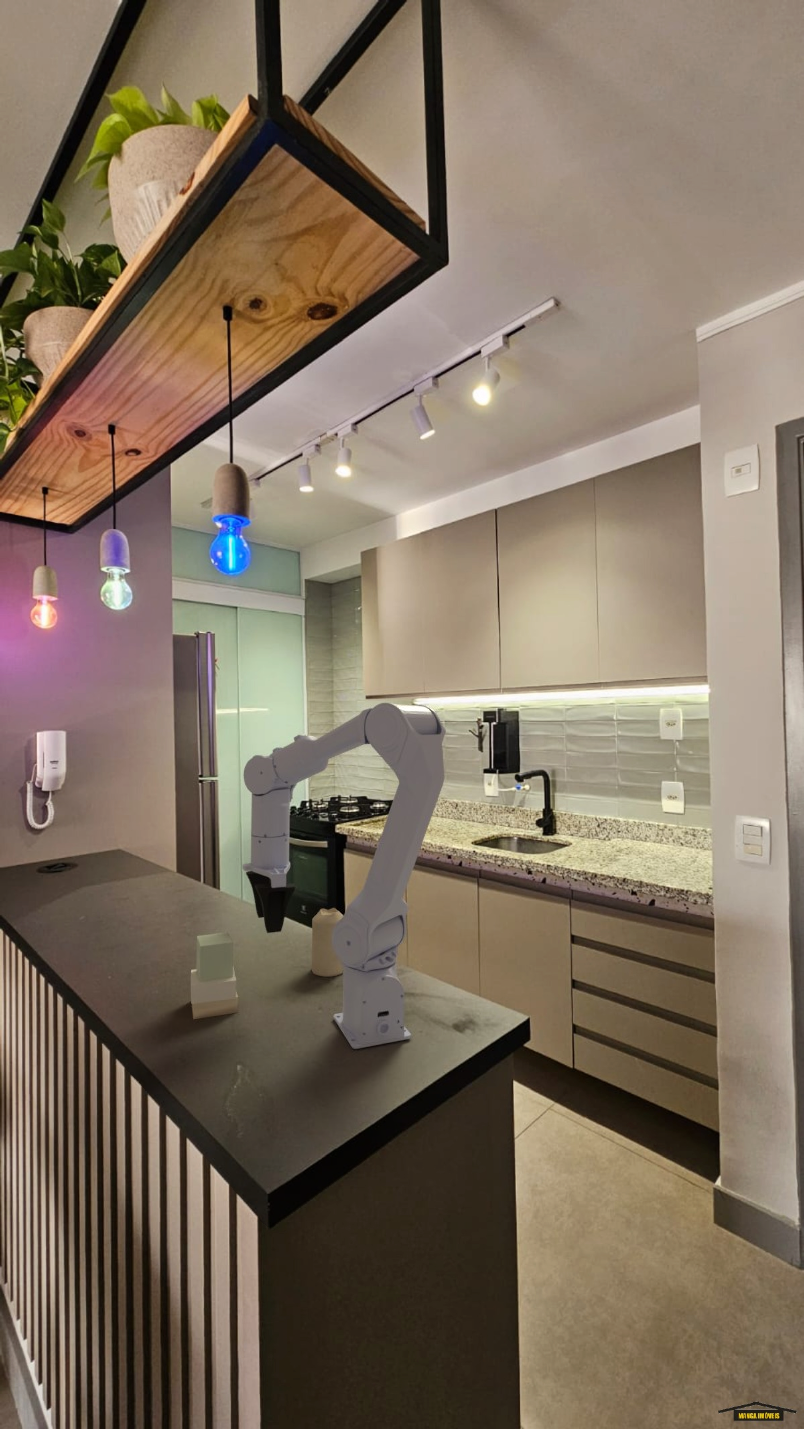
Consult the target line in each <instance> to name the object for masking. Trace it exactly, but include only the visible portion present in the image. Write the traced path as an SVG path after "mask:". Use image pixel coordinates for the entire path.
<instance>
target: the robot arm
mask: <svg viewBox="0 0 804 1429" xmlns="http://www.w3.org/2000/svg"><path fill="white" fill-rule="evenodd" d="M446 733H447V732H446V728H445V726H444V724H443V723H442V722H441V719H440V717H439V715H438V714H437V712H436V711H435V710H434V709H433V708H432V707H430V706H428V705H426V704H414V705H412V704H399V703H397V704H395V703H391V702H381V703H379V704H376V705H375V706H374V707H373V708H371V707H370V708H367V709H363V710H362V711H361V712H360V713H359V714H358V715H356V716H354V717H352V718H351V719H349V720H348V721H346V722H344V723H342V724H340V725H338V726H337V727H335V728H334V729H332V730H330V731H329V732H327V733H325V734H323V735H322V736H319V737H316V736H314V735H309V734H308V735H307V734H297V735H296V736H294V737H293V740H294V741H293V742H291V743H289V744H287V745H285V746H284V747H275V748H273V749H272V752H271V753H270V754H269V755H263V754H261V755H260V754H255V755H254V756H252V758H250V759H249V760H248V761H247V762H246V763H245V766H244V768H243V769H244V770H243V782H244V784H245V785H244V786H245V787H246V788H247V790H248V791H249V792H250V793H251V812H250V814H251V819H250V820H251V821H250V822H251V824H250V826H251V829H250V863H249V862H247V863H243V864H242V870H243V871H244V872H245V875H246V876H247V878H248V880H249V884H250V887H251V890H252V894H253V900H254V905H255V911H256V915H257V918H258V919H262V918H263V920H264V927H265V932H266V933H267V934H271V933H278V932H279V933H280V932H282V930H283V926H284V922H285V917H286V912H287V910H288V906H289V904H290V900H291V898H292V896H293V894H294V892H295V891H296V885H295V883H294V882H292V883H287V875H288V872H289V871H290V868H291V862H290V819H291V818H290V811H291V808H290V807H291V806H290V805H291V804H290V803H291V802H292V800H293V794H294V793H293V792H294V789H295V788H296V786H298V785H297V784H298V783H301V782H302V781H304V780H306V779H309V778H311V777H314V776H315V775H318V774H320V773H322V772H325V770H326V769H327V768H328V767H327V766H328V764H329V760H330V759H332V758H334V757H336V756H337V757H338V756H339V755H342V754H344V753H346V752H349V751H352V750H354V749H356V748H359V747H362V746H364V745H370V746H371V747H372V748H373V750H375V752H376V753H377V754H378V755H379V756H380V757H381V758H382V760H383V761H384V762H385V763H386V764H387V765H388V766H389V767H390V769H391V770H392V771H393V772H394V774H395V776H396V777H397V780H398V786H397V787H396V788H397V789H396V790H395V791H396V792H395V795H394V797H393V800H392V803H391V806H390V809H389V812H388V814H387V817H386V820H385V824H384V826H383V830H382V833H381V836H380V838H379V840H378V844H377V847H376V849H375V852H374V857H373V859H372V862H371V864H370V867H369V870H368V874H367V877H366V879H365V881H364V882H365V883H364V884H363V887H362V889H361V890H360V891H359V893H358V894H357V895H356V896H355V897H354V898H353V899H352V900H351V902H350V903H348V905H347V907H346V910H345V912H344V914H343V917H342V919H341V920H339V921H338V922H337V923H336V925H335V926H334V928H333V931H332V946H333V949H334V952H335V954H336V956H337V957H338V958H339V960H340V964H341V965H343V973H342V1012H340V1013H335V1014H334V1015H333V1020H334V1021H335V1023H336V1025H338V1027H339V1029H340V1030H341V1032H342V1034H343V1035H344V1037H345V1039H346V1040H347V1042H348V1043H349V1045H350V1047H351V1048H352V1049H354V1050H358V1049H363V1048H368V1047H373V1046H378V1045H384V1044H389V1043H394V1042H399V1041H404V1040H405V1041H406V1040H410V1039H411V1037H412V1034H411V1033H410V1031H409V1030H408V1029H407V1028H406V1026H405V1009H406V1008H405V1007H406V1006H405V1005H406V1004H405V1001H406V1000H405V999H406V997H405V989H404V986H403V984H402V982H401V981H400V979H399V978H398V975H397V957H398V955H399V946H400V945H402V943H403V942H404V941H405V939H406V937H407V936H406V935H407V914H408V911H409V909H410V907H409V905H408V903H407V902H406V900H405V899H404V895H405V893H406V889H407V886H408V884H409V881H410V878H411V876H412V873H413V871H414V867H415V864H416V861H417V858H418V856H419V854H420V850H421V848H422V845H423V842H424V839H425V836H426V833H427V830H428V827H429V825H430V821H431V819H432V816H433V814H434V811H435V809H436V805H437V802H438V799H439V796H440V794H441V791H442V788H443V786H444V782H445V767H444V764H445V763H444V752H443V741H444V739H445V735H446Z"/></svg>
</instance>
